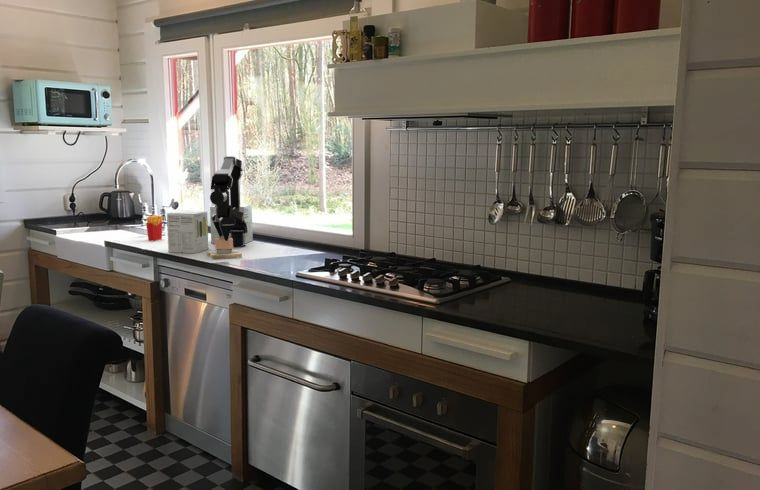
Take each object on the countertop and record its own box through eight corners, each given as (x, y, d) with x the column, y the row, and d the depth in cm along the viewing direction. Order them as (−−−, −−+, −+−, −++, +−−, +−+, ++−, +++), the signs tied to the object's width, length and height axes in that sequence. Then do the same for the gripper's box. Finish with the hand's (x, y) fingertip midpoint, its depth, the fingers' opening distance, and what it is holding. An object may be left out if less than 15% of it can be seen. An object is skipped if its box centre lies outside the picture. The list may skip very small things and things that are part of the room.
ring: (214, 247, 274) (213, 238, 273) (230, 246, 277) (230, 237, 276) (217, 249, 268) (217, 240, 267) (234, 248, 271) (234, 239, 270)
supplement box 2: (253, 240, 319) (252, 204, 316) (245, 244, 306) (244, 206, 303) (219, 239, 321) (218, 203, 318) (210, 243, 307) (209, 206, 305)
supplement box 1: (195, 253, 279) (193, 213, 276) (167, 252, 281) (166, 212, 279) (209, 248, 292) (208, 210, 289) (182, 247, 294) (181, 209, 292)
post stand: (207, 254, 276) (206, 235, 274) (234, 252, 281) (234, 233, 280) (213, 259, 265) (212, 239, 264) (241, 257, 270) (241, 237, 269)
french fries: (150, 241, 313) (149, 216, 312) (145, 240, 316) (144, 216, 314) (165, 239, 320) (164, 215, 318) (160, 238, 322) (159, 214, 321)
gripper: (247, 203, 265) (248, 241, 267) (236, 200, 281) (237, 235, 284) (220, 204, 260) (221, 242, 262) (210, 201, 276) (211, 236, 279)
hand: (223, 239), depth 272 cm, fingers open, 9 cm apart
